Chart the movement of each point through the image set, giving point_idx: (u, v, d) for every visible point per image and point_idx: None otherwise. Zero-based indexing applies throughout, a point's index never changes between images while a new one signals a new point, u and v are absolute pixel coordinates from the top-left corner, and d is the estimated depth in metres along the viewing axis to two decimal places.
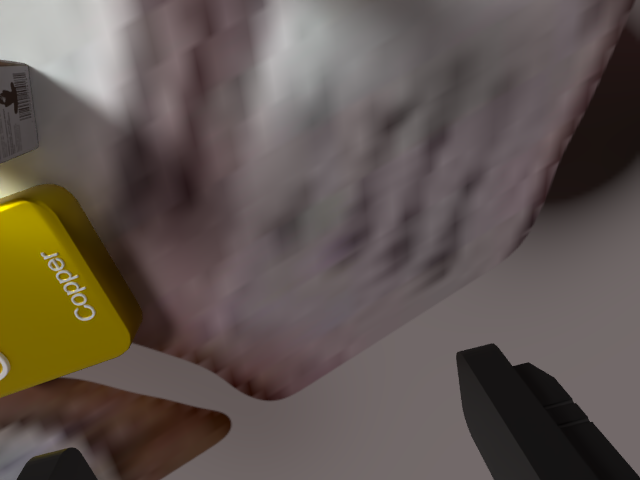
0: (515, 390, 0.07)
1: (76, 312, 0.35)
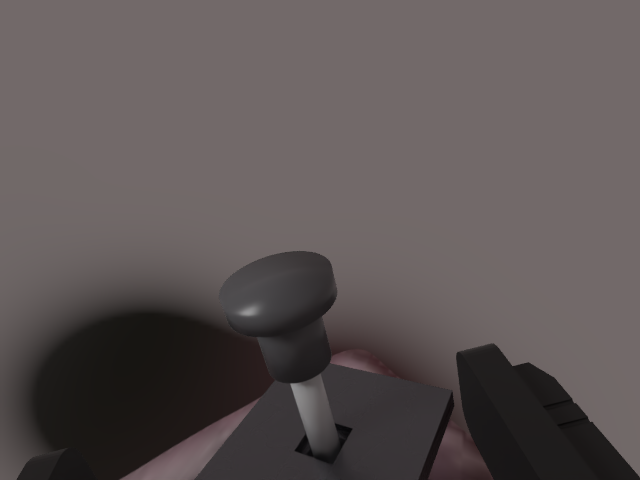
0: (515, 390, 0.07)
1: None
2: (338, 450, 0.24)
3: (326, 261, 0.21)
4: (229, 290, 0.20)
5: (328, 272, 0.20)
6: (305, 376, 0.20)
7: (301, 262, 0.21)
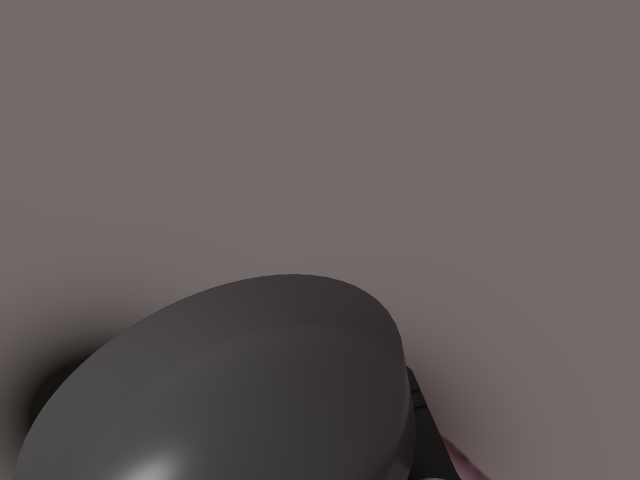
0: None
1: None
2: None
3: (377, 310, 0.07)
4: (71, 407, 0.06)
5: (392, 355, 0.06)
6: None
7: (300, 309, 0.07)
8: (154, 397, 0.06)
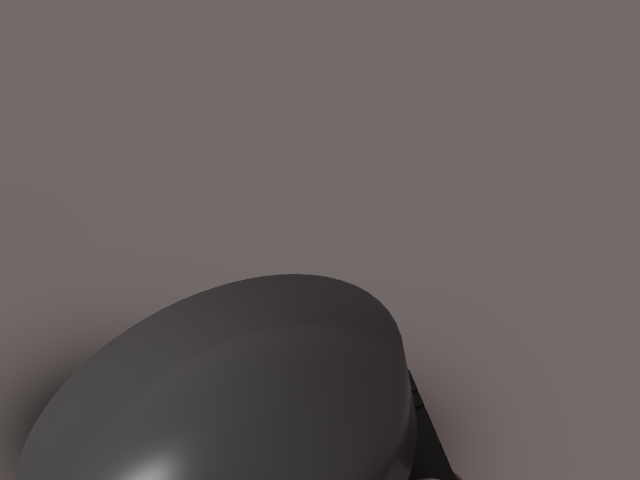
0: None
1: None
2: None
3: (377, 309, 0.07)
4: (73, 407, 0.06)
5: (393, 355, 0.06)
6: None
7: (300, 309, 0.07)
8: (155, 397, 0.06)
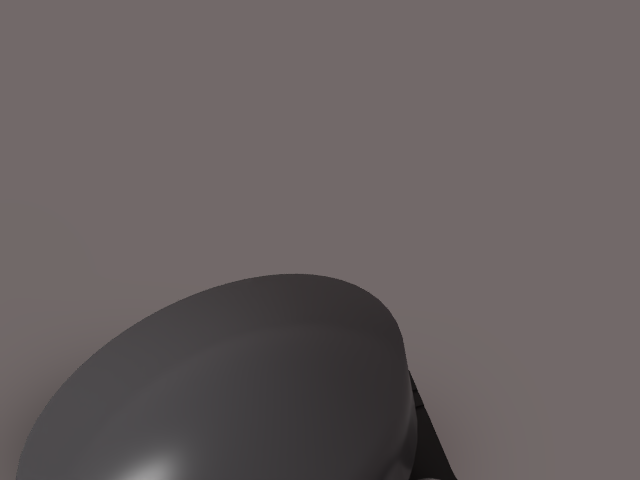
0: None
1: None
2: None
3: (378, 309, 0.07)
4: (74, 406, 0.06)
5: (394, 354, 0.06)
6: None
7: (301, 309, 0.07)
8: (156, 396, 0.06)
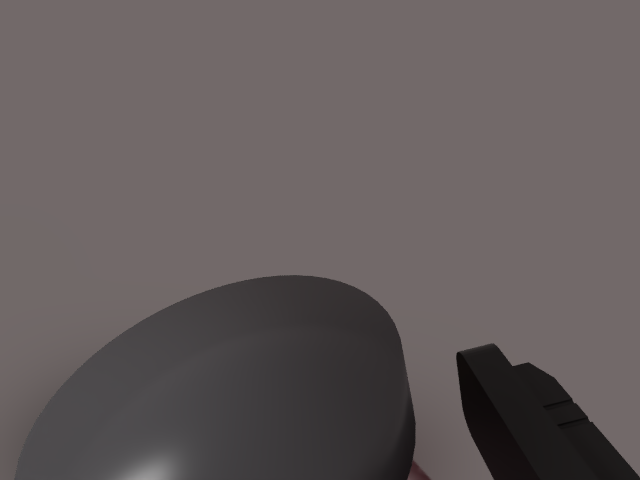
0: (515, 390, 0.07)
1: None
2: None
3: (376, 311, 0.07)
4: (72, 408, 0.06)
5: (392, 356, 0.06)
6: None
7: (299, 310, 0.07)
8: (154, 398, 0.06)
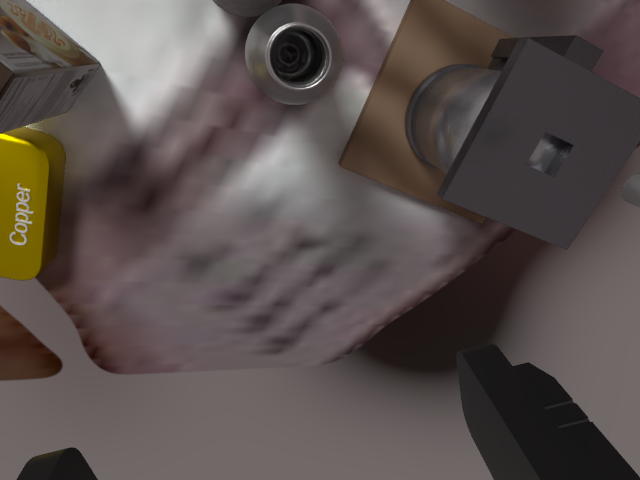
0: (515, 390, 0.07)
1: (12, 234, 0.44)
2: None
3: None
4: None
5: None
6: None
7: None
8: None
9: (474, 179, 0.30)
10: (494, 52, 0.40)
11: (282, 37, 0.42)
